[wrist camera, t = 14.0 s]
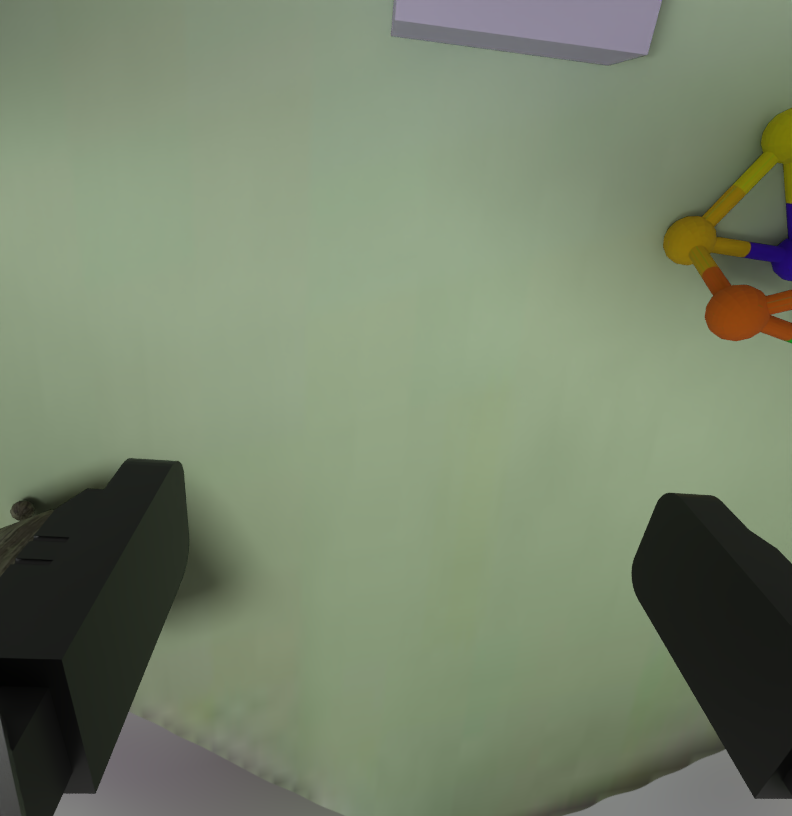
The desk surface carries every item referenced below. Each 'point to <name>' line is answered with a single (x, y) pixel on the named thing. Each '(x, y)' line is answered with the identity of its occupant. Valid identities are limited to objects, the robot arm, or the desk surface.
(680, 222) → the educational toy
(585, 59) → the socket
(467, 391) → the desk surface
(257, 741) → the desk surface
